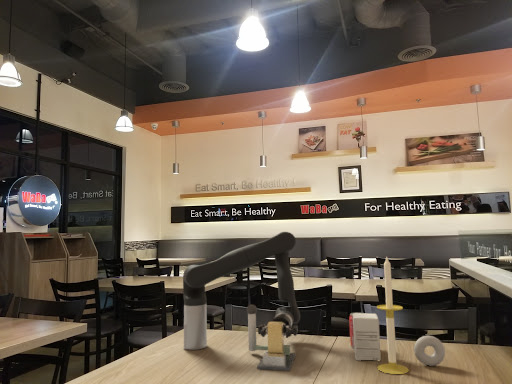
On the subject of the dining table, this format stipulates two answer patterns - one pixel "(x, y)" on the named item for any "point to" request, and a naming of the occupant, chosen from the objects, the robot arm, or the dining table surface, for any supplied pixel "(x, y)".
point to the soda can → (351, 330)
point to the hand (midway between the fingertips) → (274, 334)
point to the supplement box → (366, 336)
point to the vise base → (287, 368)
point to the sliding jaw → (252, 332)
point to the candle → (390, 326)
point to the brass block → (275, 338)
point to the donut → (432, 359)
